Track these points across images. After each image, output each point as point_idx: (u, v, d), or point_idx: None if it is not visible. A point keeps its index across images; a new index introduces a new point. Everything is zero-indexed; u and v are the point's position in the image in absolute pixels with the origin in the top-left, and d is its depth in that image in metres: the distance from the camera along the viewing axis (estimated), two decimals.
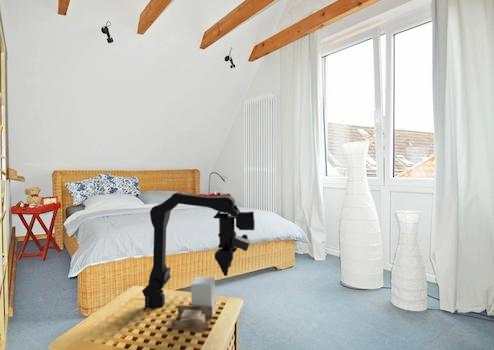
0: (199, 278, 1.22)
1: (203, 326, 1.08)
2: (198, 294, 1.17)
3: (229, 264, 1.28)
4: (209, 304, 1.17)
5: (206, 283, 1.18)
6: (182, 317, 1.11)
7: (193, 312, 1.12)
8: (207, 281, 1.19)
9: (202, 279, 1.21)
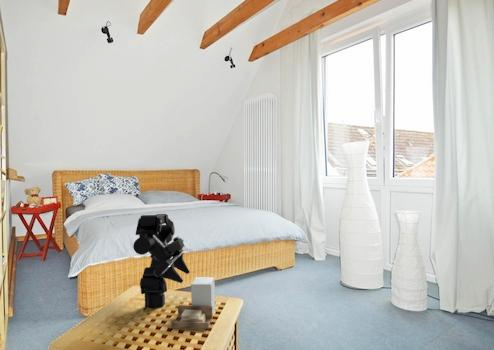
0: (199, 278, 1.22)
1: (203, 326, 1.08)
2: (198, 294, 1.17)
3: (186, 270, 1.25)
4: (209, 304, 1.17)
5: (206, 283, 1.18)
6: (182, 317, 1.11)
7: (193, 312, 1.12)
8: (207, 281, 1.19)
9: (202, 279, 1.21)
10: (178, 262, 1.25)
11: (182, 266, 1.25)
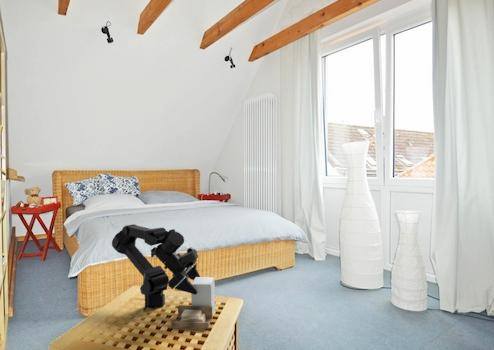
0: (199, 278, 1.22)
1: (203, 326, 1.08)
2: (198, 294, 1.17)
3: None
4: (209, 304, 1.17)
5: (206, 283, 1.18)
6: (182, 317, 1.11)
7: (193, 312, 1.12)
8: (207, 281, 1.19)
9: (202, 279, 1.21)
10: (192, 272, 1.25)
11: (196, 276, 1.25)
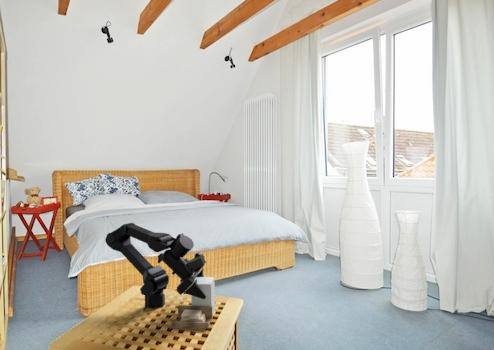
0: (199, 278, 1.22)
1: (203, 326, 1.08)
2: None
3: None
4: (209, 304, 1.17)
5: (206, 283, 1.18)
6: (182, 317, 1.11)
7: (193, 312, 1.12)
8: (207, 281, 1.19)
9: (202, 279, 1.21)
10: None
11: None
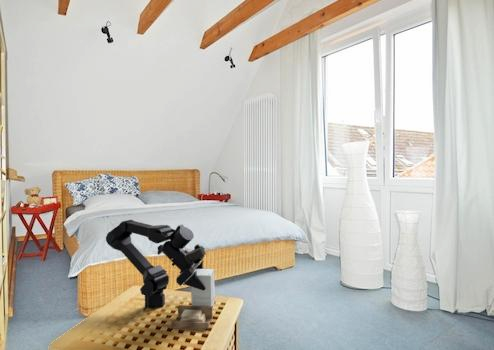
0: (199, 270, 1.22)
1: (203, 326, 1.08)
2: None
3: None
4: (209, 295, 1.17)
5: (206, 274, 1.17)
6: (182, 317, 1.11)
7: (193, 312, 1.12)
8: (206, 272, 1.19)
9: (202, 271, 1.21)
10: None
11: None
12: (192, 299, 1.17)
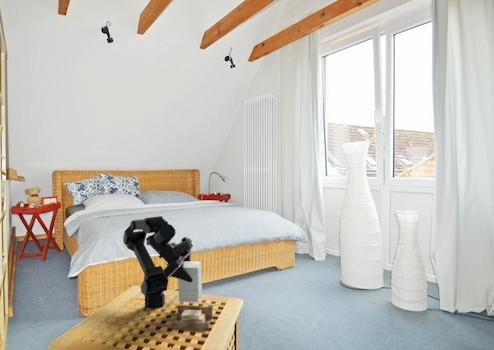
0: (186, 262, 1.23)
1: (203, 326, 1.08)
2: None
3: None
4: (196, 287, 1.17)
5: (193, 266, 1.18)
6: (182, 317, 1.11)
7: (193, 312, 1.12)
8: (194, 265, 1.20)
9: (189, 263, 1.21)
10: None
11: None
12: (179, 291, 1.18)
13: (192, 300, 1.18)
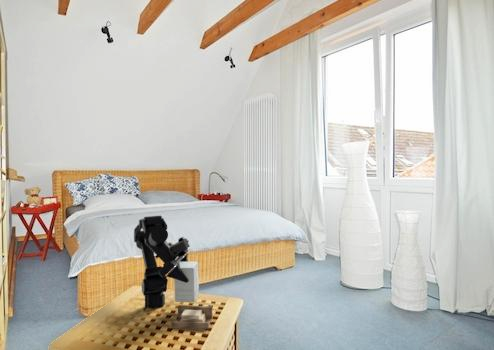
0: (182, 262, 1.22)
1: (203, 326, 1.08)
2: None
3: None
4: (192, 288, 1.17)
5: (189, 266, 1.18)
6: (182, 317, 1.11)
7: (193, 312, 1.12)
8: (190, 265, 1.19)
9: (185, 263, 1.21)
10: None
11: None
12: (175, 291, 1.18)
13: (188, 300, 1.17)
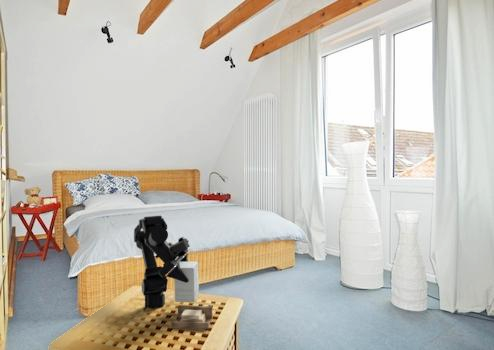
0: (182, 262, 1.22)
1: (203, 326, 1.08)
2: None
3: None
4: (192, 288, 1.17)
5: (189, 266, 1.18)
6: (182, 317, 1.11)
7: (193, 312, 1.12)
8: (190, 265, 1.19)
9: (185, 263, 1.21)
10: None
11: None
12: (175, 291, 1.18)
13: (188, 300, 1.17)
